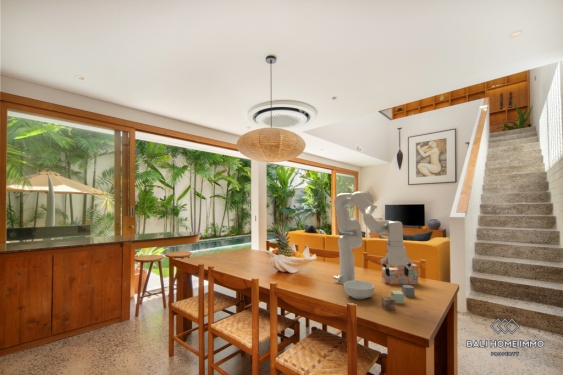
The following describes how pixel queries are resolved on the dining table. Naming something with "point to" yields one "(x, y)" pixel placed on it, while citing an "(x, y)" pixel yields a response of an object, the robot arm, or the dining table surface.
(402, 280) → the stack of blocks
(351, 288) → the cereal bowl
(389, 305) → the walnut cube
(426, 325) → the dining table surface
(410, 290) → the gray cube
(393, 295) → the sage green cube
